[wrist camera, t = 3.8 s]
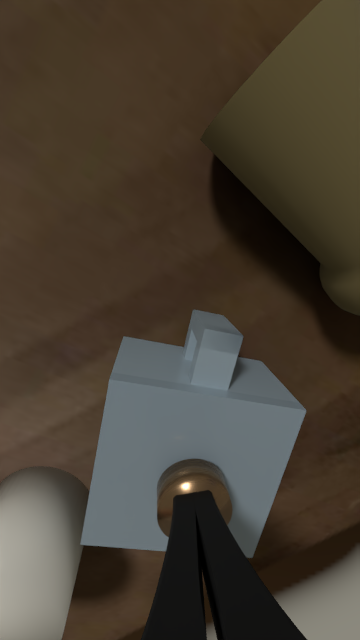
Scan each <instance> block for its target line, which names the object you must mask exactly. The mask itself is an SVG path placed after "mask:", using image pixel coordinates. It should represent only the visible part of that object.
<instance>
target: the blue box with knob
mask: <svg viewBox="0 0 360 640" xmlns="http://www.w3.org/2000/svg"><path fill="white" fill-rule="evenodd" d="M242 339H243V335H242V334H241V333H240V332H239V331H238V330H237V329H236V328H235V327H234V326H233V325H232V324H231V323H230V322H229V321H228V320H227V319H226V318H225V317H224V316H223V315H218V314H213V313H208V312H203V311H198V310H193V312H192V316H191V321H190V325H189V329H188V333H187V337H186V342H185V346H184V347H180V346H175V345H169V344H163V343H158V342H152V341H147V340H141V339H136V338H130V337H125V336H124V337H123V340H122V343H121V346H120V349H119V352H118V355H117V358H116V361H115V364H114V367H113V370H112V373H111V377H110V380H109V385H108V391H107V397H106V402H105V408H104V414H103V419H102V425H101V431H100V436H99V442H98V447H97V453H96V459H95V464H94V470H93V476H92V481H91V487H90V492H89V498H88V504H87V509H86V515H85V521H84V526H83V532H82V538H81V543H80V545H90V546H103V547H116V548H129V549H143V550H156V551H166V549H167V544H168V539H169V537H167V536H166V535H165V534H164V533H163V532H162V531H161V529H160V527H159V525H158V521H157V483H158V480H159V478H160V476H161V475H162V473H163V472H164V471H165V470H166V469H167V468H168V467H170V466H171V465H173V464H175V463H176V462H179V461H182V460H186V459H202V460H206V461H209V462H211V463H213V464H214V465H215V466H217V467H218V468H219V469H220V471H221V472H222V474H223V476H224V480H225V483H226V486H227V490H228V493H229V496H230V500H231V503H232V509H233V511H232V517H231V520H230V522H229V524H228V525H227V526H228V528H229V530H230V531H231V533H232V535H233V537H234V538H235V540H236V542H237V543H238V545H239V547H240V548H241V550H242V552H243V553H244V555H245V556H246V557H248V558H253V555H254V552H255V550H256V547H257V544H258V541H259V539H260V536H261V533H262V530H263V528H264V525H265V522H266V520H267V517H268V514H269V511H270V509H271V506H272V503H273V500H274V498H275V495H276V492H277V489H278V487H279V484H280V481H281V479H282V476H283V473H284V470H285V468H286V465H287V462H288V459H289V457H290V454H291V451H292V449H293V446H294V443H295V440H296V438H297V435H298V432H299V429H300V427H301V424H302V421H303V419H304V416H305V413H306V409H305V408H304V407H303V406H302V405H301V404H300V403H299V402H298V401H297V400H296V398H295V397H294V396H293V395H292V394H291V393H290V392H289V391H288V390H287V389H286V388H285V386H284V385H283V384H282V383H281V382H280V381H279V380H278V379H277V378H276V377H275V376H274V375H273V373H272V372H271V371H270V370H269V369H268V368H267V367H266V366H265V365H264V364H263V363H262V361H258V360H252V359H247V358H241V357H238V353H239V350H240V346H241V343H242Z"/></svg>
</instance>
